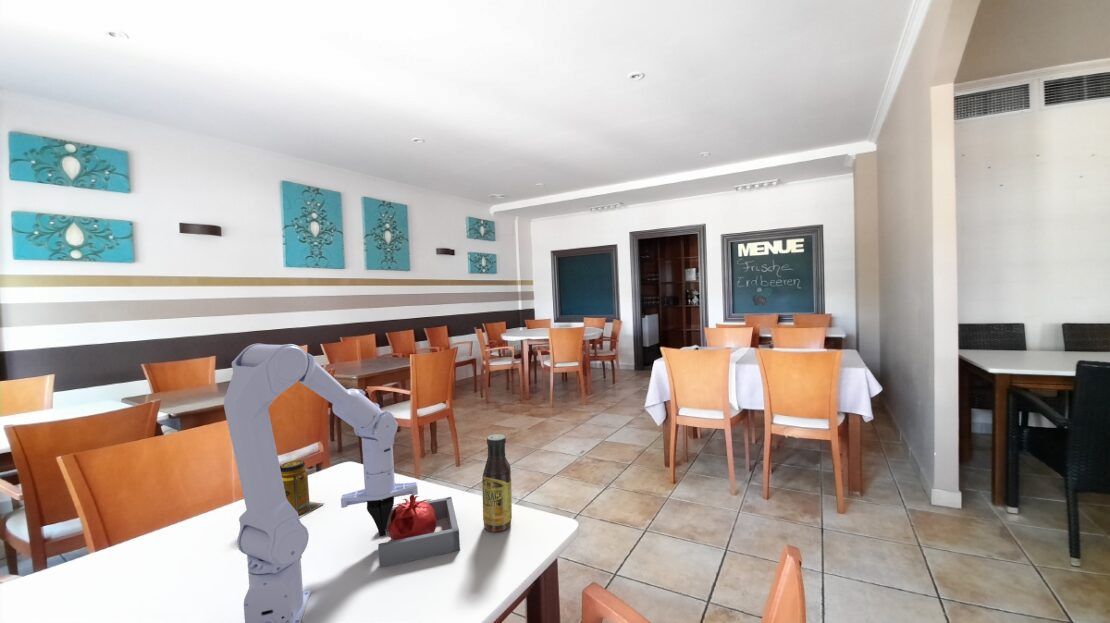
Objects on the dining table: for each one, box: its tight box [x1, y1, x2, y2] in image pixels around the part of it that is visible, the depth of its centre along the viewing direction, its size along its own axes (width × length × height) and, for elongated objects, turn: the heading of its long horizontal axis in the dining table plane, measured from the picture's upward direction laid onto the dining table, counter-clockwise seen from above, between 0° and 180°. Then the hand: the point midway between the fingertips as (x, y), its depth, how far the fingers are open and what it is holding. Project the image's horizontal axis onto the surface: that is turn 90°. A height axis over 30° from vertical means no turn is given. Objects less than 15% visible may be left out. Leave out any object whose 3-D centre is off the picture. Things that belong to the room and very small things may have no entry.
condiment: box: [280, 459, 325, 519], centre depth 109 cm, size 7×8×12 cm
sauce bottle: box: [481, 433, 513, 533], centre depth 97 cm, size 7×6×20 cm
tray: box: [377, 496, 461, 569], centre depth 94 cm, size 16×15×4 cm
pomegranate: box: [387, 494, 437, 541], centre depth 94 cm, size 10×10×9 cm
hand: (382, 533), depth 92 cm, fingers closed
